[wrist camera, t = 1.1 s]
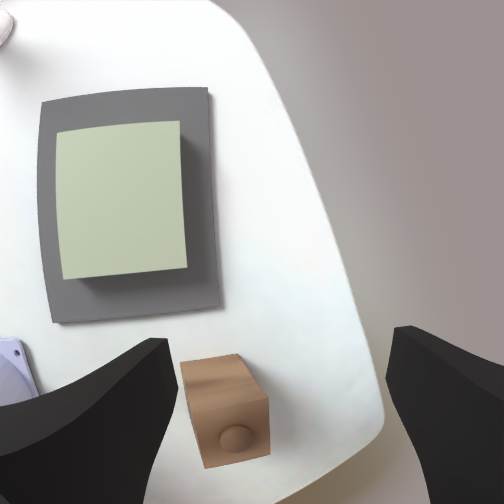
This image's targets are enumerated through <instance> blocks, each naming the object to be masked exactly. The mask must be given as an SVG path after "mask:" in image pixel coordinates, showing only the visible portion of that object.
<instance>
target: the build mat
mask: <svg viewBox="0 0 504 504" xmlns="http://www.w3.org/2000/svg"><path fill="white" fill-rule="evenodd" d="M163 121H180V158H181V183H182V202H183V219H184V233H185V246H186V258H187V268H177V269H167V270H157V271H148V272H137V273H127V274H117V275H107V276H97V277H86V278H75V279H65V280H63V273H62V266H61V258H60V249H59V238H58V226H57V209H56V142H57V133H59V132H66V131H72V130H79V129H86V128H94V127H102V126H111V125H121V124H132V123H146V122H163ZM37 205H38V224H39V237H40V247H41V257H42V265H43V272H44V279H45V285H46V291H47V297H48V302H49V307H50V312H51V317H52V322H53V323H61V322H76V321H89V320H101V319H112V318H123V317H134V316H143V315H153V314H162V313H171V312H180V311H188V310H196V309H204V308H212V307H219V306H220V301H219V289H218V277H217V264H216V250H215V236H214V221H213V204H212V186H211V167H210V144H209V117H208V87H175V88H149V89H134V90H122V91H112V92H103V93H95V94H88V95H81V96H74V97H68V98H62V99H57V100H52V101H46V102H42V106H41V115H40V125H39V137H38V156H37Z"/></svg>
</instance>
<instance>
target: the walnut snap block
mask: <svg viewBox="0 0 504 504" xmlns="http://www.w3.org/2000/svg"><path fill="white" fill-rule="evenodd" d="M180 367H181V373H182V378H183V384H184V389H185V395H186V400H187V405H188V410H189V415H190V419H191V422H192V426H193V430H194V434H195V437H196V441H197V444H198V448H199V451H200V455H201V458H202V461H203V465H204V468H205V469H207V468H213V467H218V466H223V465H228V464H233V463H238V462H242V461H246V460H250V459H255V458H258V457H262V456H266V455H270V430H269V406H268V397H267V395H266V394H265V392H264V391H263V390H262V388H261V387H260V385H259V384H258V383H257V381H256V380H255V378H254V377H253V376H252V374H251V373H250V371H249V370H248V368H247V367H246V366H245V364H244V363H243V361H242V360H241V358H240V357H239V355H238V354H231V355H226V356H220V357H213V358H207V359H200V360H193V361H186V362H180Z"/></svg>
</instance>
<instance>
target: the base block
mask: <svg viewBox="0 0 504 504" xmlns="http://www.w3.org/2000/svg"><path fill="white" fill-rule="evenodd" d="M56 209H57V226H58V238H59V249H60V258H61V266H62V273H63V280H65V279H75V278H86V277H97V276H107V275H117V274H127V273H137V272H148V271H157V270H167V269H177V268H187V258H186V246H185V233H184V219H183V202H182V183H181V158H180V121H163V122H146V123H132V124H121V125H111V126H102V127H94V128H86V129H79V130H72V131H66V132H59V133H57V142H56Z"/></svg>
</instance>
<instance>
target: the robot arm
mask: <svg viewBox="0 0 504 504" xmlns="http://www.w3.org/2000/svg"><path fill="white" fill-rule="evenodd" d="M16 350H18V351H19V353H20V355H18V354H17V352H16ZM386 382H387V385H388V388H389V392H390V395H391V398H392V401H393V403H394V405H395V408H396V410H397V412H398V414H399V416H400V418H401V421H402V422H403V425H404V427H405V429H406V431H407V433H408V435H409V437H410V439H411V442H412V444H413V446H414V448H415V450H416V453H417V455H418V457H419V460H420V463H421V467H422V470H423V473H424V477H425V481H426V484H427V489H428V494H429V498H430V503H431V504H504V366H502V365H499V364H496V363H493V362H491V361H488V360H485V359H483V358H481V357H478V356H476V355H474V354H471V353H469V352H467V351H465V350H463V349H461V348H459V347H456V346H454V345H452V344H450V343H448V342H446V341H444V340H442V339H440V338H438V337H436V336H434V335H432V334H430V333H428V332H426V331H424V330H422V329H419V328H417V327H414V326H403V327H396V328H394V335H393V341H392V347H391V352H390V358H389V363H388V368H387V373H386ZM177 392H178V384H177V380H176V376H175V372H174V367H173V363H172V358H171V354H170V349H169V344H168V339H167V338H149V339H146V340H144V341H143V342H141V343H139V344H138V345H136V346H134V347H133V348H131V349H130V350H128V351H126V352H125V353H123V354H122V355H120V356H118V357H117V358H115V359H114V360H112V361H110V362H109V363H107V364H106V365H104V366H102V367H100V368H99V369H97V370H95V371H93V372H92V373H90V374H88V375H86V376H84V377H83V378H81V379H79V380H77V381H75V382H73V383H71V384H69V385H67V386H64V387H62V388H60V389H57V390H55V391H52V392H50V393H47V394H44V395H41V396H39V394H38V391H37V389H36V386H35V383H34V380H33V377H32V374H31V371H30V368H29V365H28V362H27V359H26V356H25V352H24V349H23V345H22V343H21V341H20V340H19V339H17V338H0V504H143V500H144V496H145V491H146V487H147V483H148V478H149V475H150V472H151V468H152V465H153V463H154V460H155V458H156V455H157V452H158V450H159V447H160V445H161V442H162V440H163V437H164V435H165V432H166V430H167V427H168V424H169V422H170V419H171V417H172V414H173V410H174V406H175V402H176V397H177Z"/></svg>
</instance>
